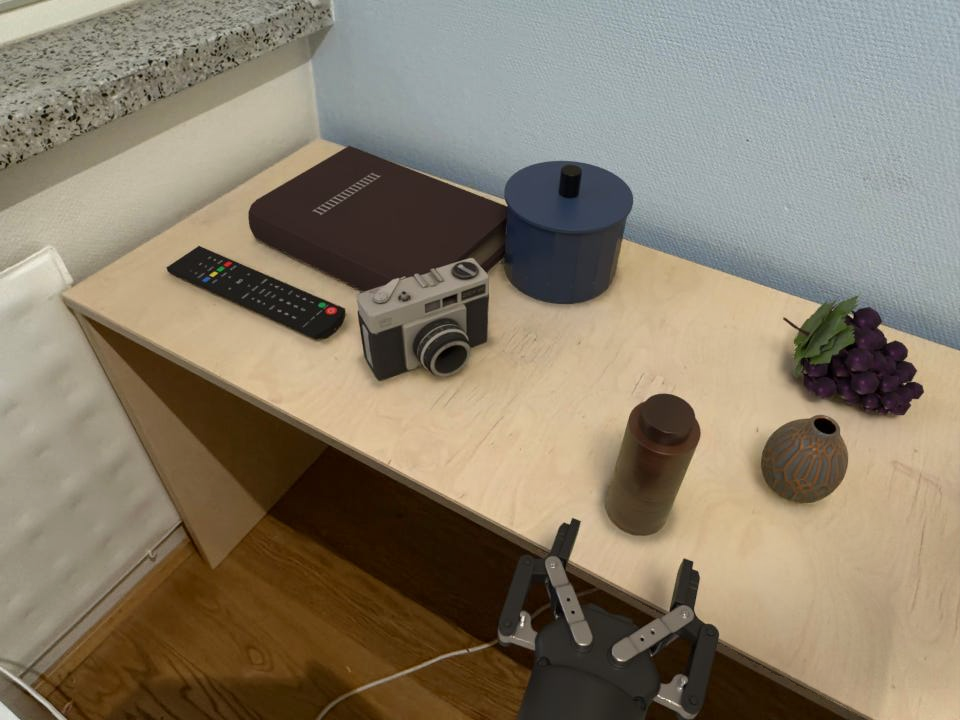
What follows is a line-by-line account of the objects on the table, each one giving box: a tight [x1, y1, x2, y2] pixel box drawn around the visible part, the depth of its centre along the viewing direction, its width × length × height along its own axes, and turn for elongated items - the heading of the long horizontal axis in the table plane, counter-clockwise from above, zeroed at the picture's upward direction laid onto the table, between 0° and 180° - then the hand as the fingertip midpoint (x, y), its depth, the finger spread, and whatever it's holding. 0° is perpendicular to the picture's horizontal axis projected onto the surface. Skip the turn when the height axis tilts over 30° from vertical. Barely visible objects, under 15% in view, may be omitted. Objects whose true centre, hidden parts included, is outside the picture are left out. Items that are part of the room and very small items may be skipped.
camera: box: [356, 258, 490, 382], centre depth 70 cm, size 14×9×10 cm, turn 111°
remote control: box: [165, 245, 346, 341], centre depth 80 cm, size 5×24×1 cm, turn 60°
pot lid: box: [503, 160, 634, 234], centre depth 77 cm, size 15×15×4 cm
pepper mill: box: [605, 393, 702, 537], centre depth 56 cm, size 6×6×14 cm
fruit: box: [782, 294, 925, 416], centre depth 69 cm, size 10×11×15 cm
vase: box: [760, 414, 849, 504], centre depth 60 cm, size 7×7×9 cm
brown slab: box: [247, 145, 507, 292], centre depth 86 cm, size 28×20×6 cm
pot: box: [503, 205, 628, 305], centre depth 82 cm, size 14×14×10 cm
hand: (629, 543), depth 51 cm, fingers open, 8 cm apart
